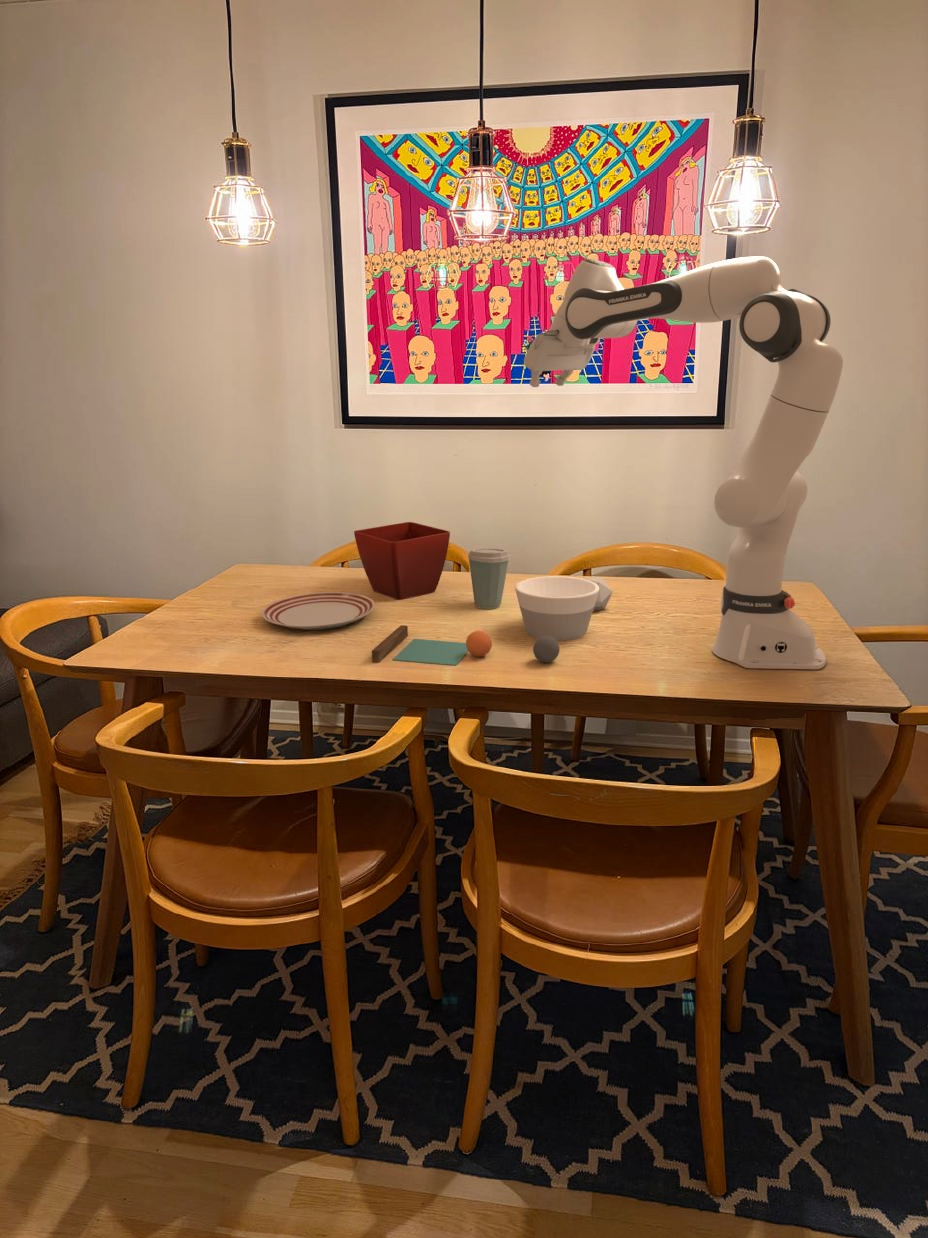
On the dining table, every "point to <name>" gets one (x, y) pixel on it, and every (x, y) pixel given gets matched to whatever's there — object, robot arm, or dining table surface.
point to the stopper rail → (389, 643)
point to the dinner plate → (318, 610)
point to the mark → (433, 652)
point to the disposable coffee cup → (488, 575)
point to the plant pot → (403, 558)
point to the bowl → (556, 606)
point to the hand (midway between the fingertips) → (546, 385)
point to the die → (601, 593)
